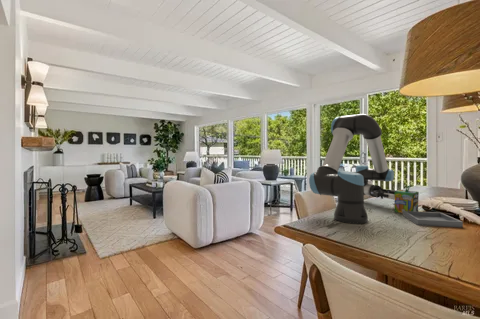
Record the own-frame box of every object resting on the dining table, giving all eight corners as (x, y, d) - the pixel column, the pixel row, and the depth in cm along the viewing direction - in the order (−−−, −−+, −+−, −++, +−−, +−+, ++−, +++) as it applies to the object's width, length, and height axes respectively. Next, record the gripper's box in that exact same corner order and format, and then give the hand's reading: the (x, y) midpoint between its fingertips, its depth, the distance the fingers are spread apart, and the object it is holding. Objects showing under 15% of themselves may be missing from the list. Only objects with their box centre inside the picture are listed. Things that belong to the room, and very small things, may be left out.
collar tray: (417, 225, 111) (417, 219, 111) (402, 215, 128) (402, 210, 128) (462, 227, 107) (462, 221, 107) (441, 217, 124) (441, 212, 124)
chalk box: (399, 209, 142) (399, 183, 141) (418, 212, 135) (419, 185, 134) (393, 212, 136) (393, 185, 135) (413, 215, 129) (413, 187, 128)
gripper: (388, 195, 161) (420, 201, 141) (357, 197, 154) (385, 204, 134) (388, 184, 161) (420, 188, 140) (357, 185, 154) (386, 190, 133)
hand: (403, 196), depth 137 cm, fingers open, 13 cm apart
